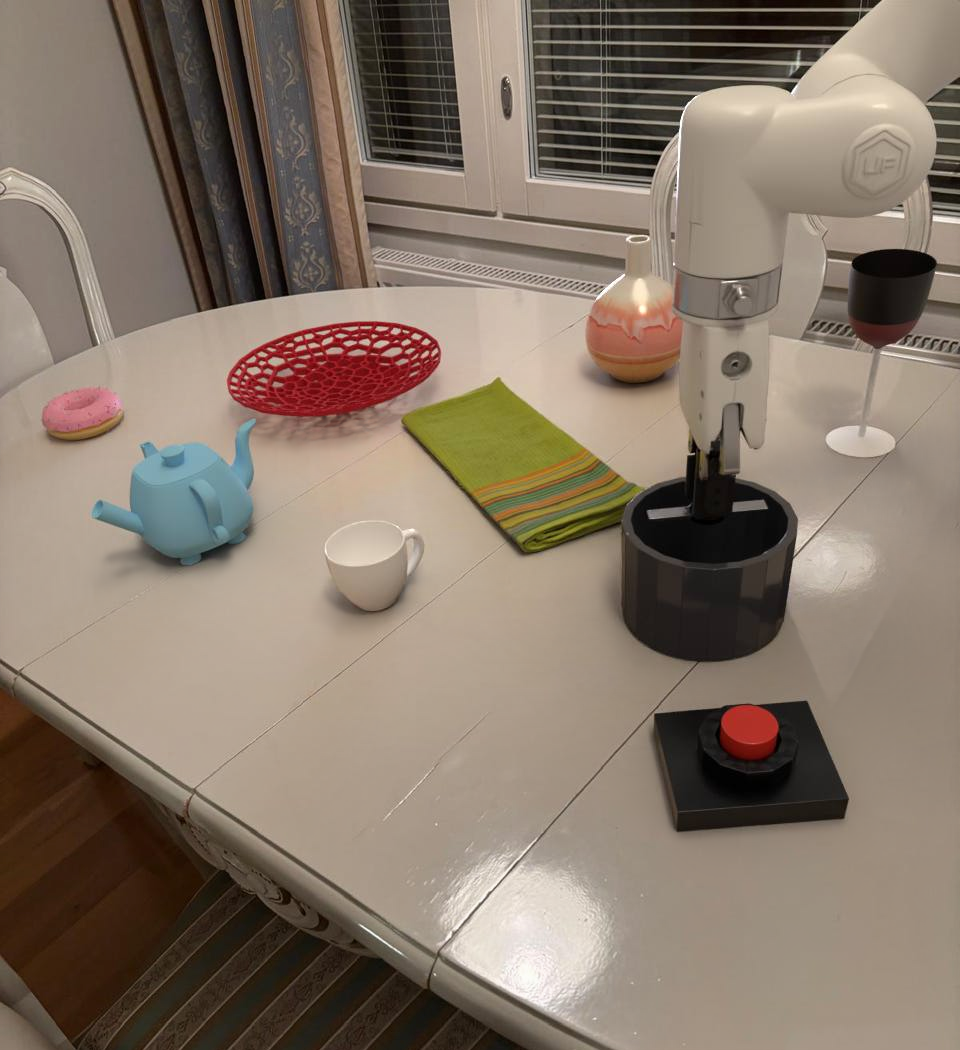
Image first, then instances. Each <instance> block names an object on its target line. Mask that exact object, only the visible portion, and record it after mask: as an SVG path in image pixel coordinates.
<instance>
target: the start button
mask: <svg viewBox="0 0 960 1050" xmlns="http://www.w3.org/2000/svg"><path fill="white" fill-rule="evenodd" d="M778 728H779V727H778V722H777V720H776V718H775V717H774V716H773V715H772V714H771V713H770V712H768V711H767V710H765V709H763V708H761V707H758V706H753V705H740V706H736V707H733V708H731V709H729V710H728V711H727V712H726V713H725V714H724V715H723V717H722V720H721V729H720V742H721V745H722V746H723V748H724V749H725V750H726V751H727V752H728V753H729V754H731V755H732V756H734V757H738V758H741V759H744V760H758V759H762V758H765V757H767V756H768V755H770V754H771V753H772V752H773V751H774V749H775V746H776V741H777V735H778Z"/></svg>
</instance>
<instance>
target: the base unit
mask: <svg viewBox="0 0 960 1050" xmlns="http://www.w3.org/2000/svg"><path fill="white" fill-rule="evenodd" d="M740 705H753V706H758V707H761V708H763V709H765V710H767V711H768V712H770V713H771V714H772V715H773V716H774V717H775V718H776V720H777V722H778V727H779V728H778V735H777V741H776V746H775V749H774V751H773V752H772V753H771V754H770V755H768V756H767V757H765V758H762V759H758V760H744V759H741V758H738V757H734V756H732V755H731V754H729V753H728V752H727V751H726V750H725V749H724V748H723V746H722V745H721V742H720V729H721V720H722V717H723V715H724V714H725V713H726V712H727V711H728V710H729V709H731V708H733V707H736V706H740ZM818 725H819V724H818V722H817V720H816V718H815V716H814V714H813V711H812V709H811V706H810V704H809V702H808V700H795V701H784V702H773V703H772V702H771V703H762V704H761V703H760V704H754V703H737V704H726V705H723V706H721V707H714V708H713V707H711V708H700V709H690V710H679V711H678V710H677V711H667V712H665V711H664V712H655V713H653V729H652V731H653V732H652V733H653V736H654V741H655V746H656V749H657V753H658V759H659V763H660V767H661V771H662V775H663V779H664V784H665V788H666V792H667V797H668V799H669V806H670V809H671V814H672V818H673V822H674V826H675V831H676V832H689V831H700V830H714V829H725V828H726V829H727V828H740V827H751V826H752V827H753V826H763V825H765V826H767V825H777V824H778V825H779V824H790V823H802V822H813V821H814V822H815V821H827V820H828V821H829V820H839V819H840V820H841V819H845V817H846V813H847V810H848V805H849V801H850V797H849V795H848V792H847V790H846V788H845V785H844V783H843V781H842V778H841V776H840V774H839V772H838V771H839V770H838V769H837V767H836V764H835V762H834V760H833V758H832V757H833V756H832V755H831V753H830V750H829V748H828V746H827V744H826V742H825V739H824V737H823V735H822V734H823V733H822V732H821V729H820V727H819V726H818Z"/></svg>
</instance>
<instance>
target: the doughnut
mask: <svg viewBox="0 0 960 1050" xmlns="http://www.w3.org/2000/svg"><path fill="white" fill-rule="evenodd" d="M123 413H124V409H123V402H122V400H121V398H120V397H119V396H118V395H117V392H114V391H112V390H111V389H108V388H104V387H101V386H98V387H97V386H96V387H95V386H94V387H90V386H89V387H83V388H77V389H74V390H71V391H70V390H69V391H65V392H63V393H62V394H60V395H59V396H57V397H54V398H53V399H51V400H50V401H47V404H46V405H45V406H44V407H43V408H42V412H41V419H40V421H41V424H42V426H43V427H44V428H45V429H46V431H47V433H48V434H50V435H52V436H53V437H55V438H58V439H61V440H68V441H71V440H72V441H75V440H77V441H78V440H84V439H88V438H93V437H96V436H98V435H101V434H103V433H105V432H107V431H109V430H111V429H113V427H115V426H117V424H118V423H119V422H120V420H121V419H122V417H123Z"/></svg>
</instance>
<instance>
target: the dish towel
mask: <svg viewBox="0 0 960 1050" xmlns="http://www.w3.org/2000/svg"><path fill="white" fill-rule="evenodd" d="M400 422H401V424H402V425H403V426H404V427H405V428H406V429H407V430H408V431H409V432H410V433H411V434H412V435H413V436H414V437H415V439H417V440H418V441H419V442H420V443H421V444H422V445H423V446H424V447H425V449H427V450H428V451H429V452H430V453H431V454H432V455H433V456H434V457H435V458H436V460H437V461H438V462H439V463H440V464H441V465H442V466H443V467H444V468H445V469H446V470H447V471H448V472H449V474H450V475H451V476H452V477H453V478H454V479H455V480H456V482H457V483H458V484H459V485H460V486H461V488H463V490H464V491H466V493H468V495H469V496H470V497H471V498H472V499H473V500H474V501H475V502H476V503H477V504H478V505H479V506H480V507H481V509H483V510H484V511H485V512H486V514H487V515H488V516H489V517H490V519H492V520H493V521H494V523H496V524H497V525H498V526H499V527H500V529H501V530H502V531H503V532H504V533H505V534H506V535H507V536H508V537H509V538H510V539H512V541H514V542H515V543H516V544H517V545H518V546H519V548H520V549H521V550H522V551H523V552H524V553H536V552H540V551H544V550H547V549H549V548H552V547H555V546H558V545H560V544H562V543H565V542H568V541H570V540H573V539H575V538H579V537H581V536H584V535H589V534H591V533H593V532H595V531H599V530H602V529H604V528H607V527H610V526H612V525H615V524H617V523H620V522H622V517H623V514H624V511H625V508H626V505H627V504H628V503H629V502H630V501H631V500H632V499H633V498H634V497H635V496H636V495H637V494H638V493H640V492H642V491H644V490H645V489H646V488H643V487H642V486H640V485H637V484H636V483H634V482H630V481H627V480H626V478H624V477H623V476H621V475H620V474H619V473H618V472H616V471H615V470H614V469H612V468H611V466H610V465H608V464H607V463H605V462H604V461H603V460H602V459H600V458H599V457H597V456H596V455H595V454H593V452H591V451H590V450H589V449H588V448H586V447H585V446H583V444H581V443H579V442H578V441H577V440H576V439H575V438H573V437H572V436H571V435H570V434H569V433H567V432H566V431H565V430H564V429H562V428H560V427H559V426H558V425H556V424H555V423H553V422H552V421H551V420H550V419H548V418H547V417H545V415H544V414H542V413H540V412H539V411H538V410H536V409H535V408H534V407H533V406H531V405H530V404H529V403H528V402H527V401H526V400H524V399H523V398H521V397H520V396H519V395H517V394H516V393H515V392H514V391H513V390H511V388H510V387H508V385H506V384H505V382H504V381H503V380H502V379H501V377H500V376H497V377H496V378H495V379H494V380H493V381H492V382H490V383H488V384H486V385H483V386H480V387H477V388H474V389H473V390H470V391H468V392H465V393H462V394H460V395H457V396H454V397H450V398H446V399H444V400H441V401H437V402H435V403H431V404H428V405H425V406H421V407H418V408H416V409H414V410H412V411H409V412H407V413H405V414H404V415H403V416H402V418H401V419H400Z"/></svg>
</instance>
